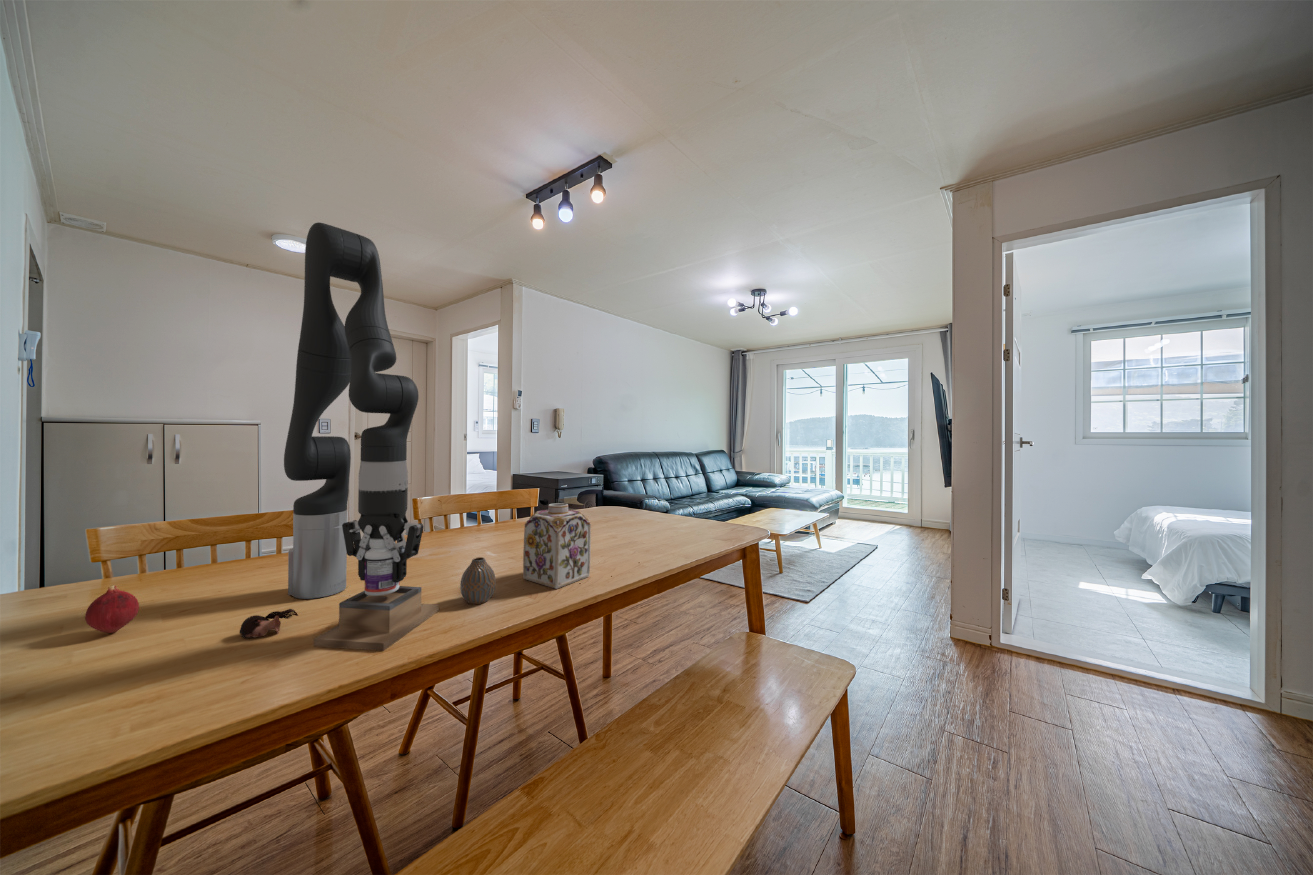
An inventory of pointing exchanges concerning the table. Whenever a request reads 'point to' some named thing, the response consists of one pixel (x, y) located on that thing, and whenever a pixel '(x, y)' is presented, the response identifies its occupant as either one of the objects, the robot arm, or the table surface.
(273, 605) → the table surface
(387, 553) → the pill bottle
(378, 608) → the display stand
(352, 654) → the table surface
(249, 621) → the head bust
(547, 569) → the decorative jar
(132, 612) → the onion
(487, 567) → the vase
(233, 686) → the table surface
